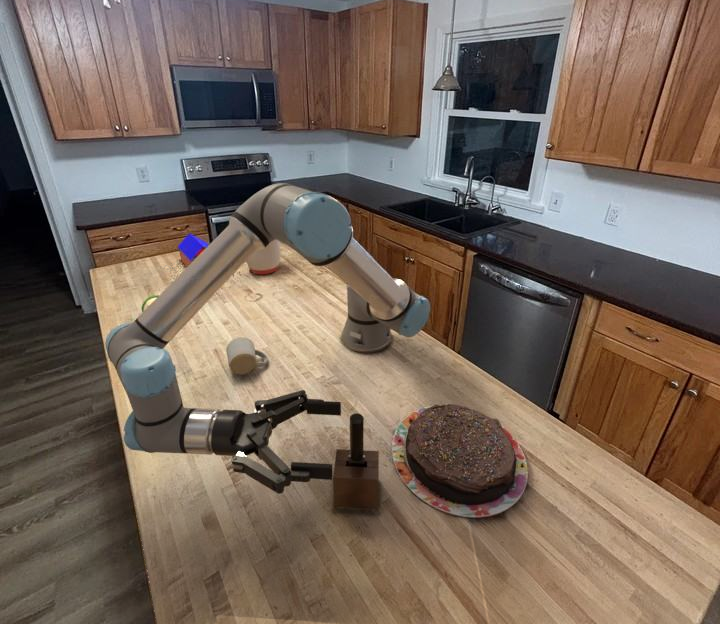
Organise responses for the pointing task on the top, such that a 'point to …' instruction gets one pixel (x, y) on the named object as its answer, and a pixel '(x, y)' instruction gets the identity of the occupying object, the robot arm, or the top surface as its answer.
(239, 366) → the ceramic mug
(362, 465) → the knife
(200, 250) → the house
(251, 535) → the top surface
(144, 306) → the cartoon head
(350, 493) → the knife block
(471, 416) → the chocolate cake
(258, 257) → the citrus juicer
